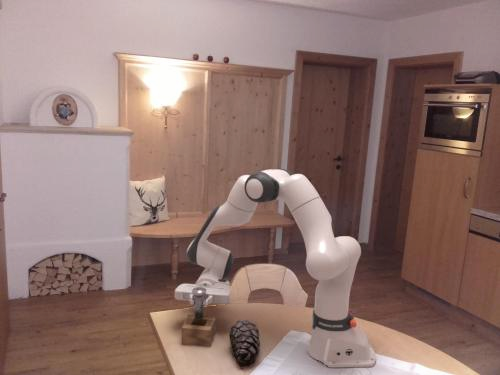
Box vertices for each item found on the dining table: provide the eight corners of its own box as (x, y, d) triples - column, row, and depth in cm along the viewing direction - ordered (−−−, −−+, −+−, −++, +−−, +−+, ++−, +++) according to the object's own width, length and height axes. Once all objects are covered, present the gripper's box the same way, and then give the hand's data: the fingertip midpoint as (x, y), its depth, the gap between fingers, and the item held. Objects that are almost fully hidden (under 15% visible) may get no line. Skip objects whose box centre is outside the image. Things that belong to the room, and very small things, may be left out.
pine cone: (235, 372, 139) (236, 342, 137) (226, 342, 156) (226, 315, 154) (268, 368, 141) (269, 339, 139) (255, 339, 158) (256, 313, 156)
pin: (207, 314, 159) (207, 287, 157) (204, 320, 154) (204, 293, 152) (193, 313, 159) (194, 286, 158) (190, 319, 155) (190, 292, 153)
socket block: (215, 332, 162) (215, 316, 161) (210, 346, 153) (210, 330, 152) (188, 329, 163) (188, 314, 162) (181, 344, 154) (181, 327, 153)
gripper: (179, 277, 169) (169, 292, 155) (233, 281, 167) (227, 296, 153) (179, 293, 170) (169, 309, 157) (233, 297, 168) (227, 314, 154)
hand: (198, 303), depth 155 cm, fingers closed on pin, 3 cm apart
